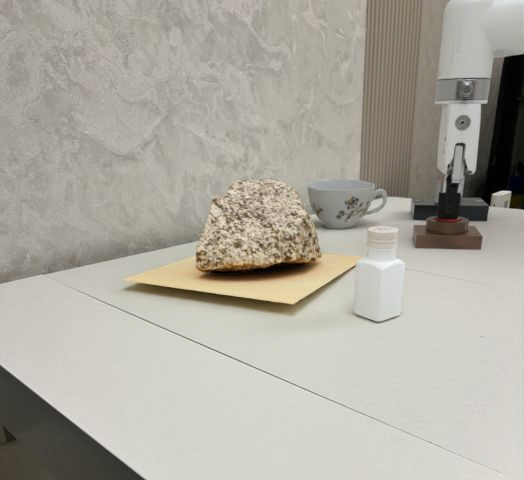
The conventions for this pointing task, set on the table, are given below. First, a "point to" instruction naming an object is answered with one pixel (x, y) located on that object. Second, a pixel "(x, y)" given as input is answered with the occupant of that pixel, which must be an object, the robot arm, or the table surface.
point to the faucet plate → (468, 208)
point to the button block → (447, 235)
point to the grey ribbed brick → (438, 185)
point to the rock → (255, 248)
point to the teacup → (343, 201)
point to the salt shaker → (379, 276)
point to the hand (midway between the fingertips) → (446, 217)
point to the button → (447, 220)
